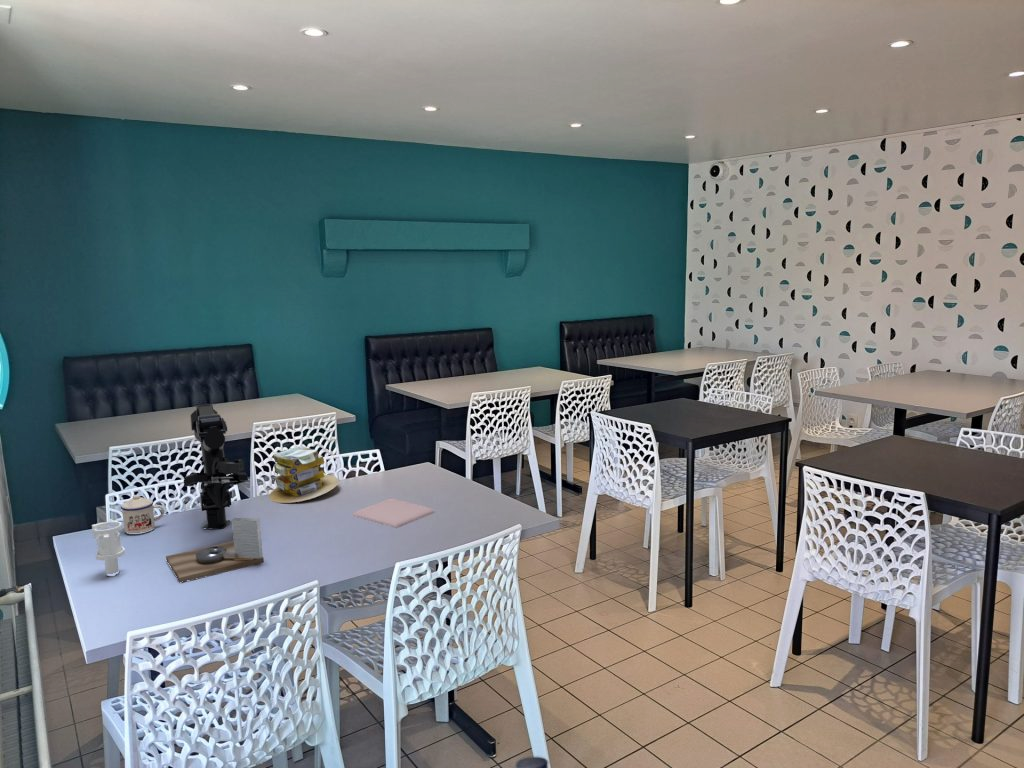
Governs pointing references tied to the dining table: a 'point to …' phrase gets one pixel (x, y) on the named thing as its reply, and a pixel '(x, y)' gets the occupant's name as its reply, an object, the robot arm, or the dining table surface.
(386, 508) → the panel
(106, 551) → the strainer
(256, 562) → the walnut stand plate
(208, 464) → the robot arm
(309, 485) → the stacked boxes on plate
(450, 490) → the dining table surface
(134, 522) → the teacup with lid
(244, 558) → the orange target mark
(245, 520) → the lever
